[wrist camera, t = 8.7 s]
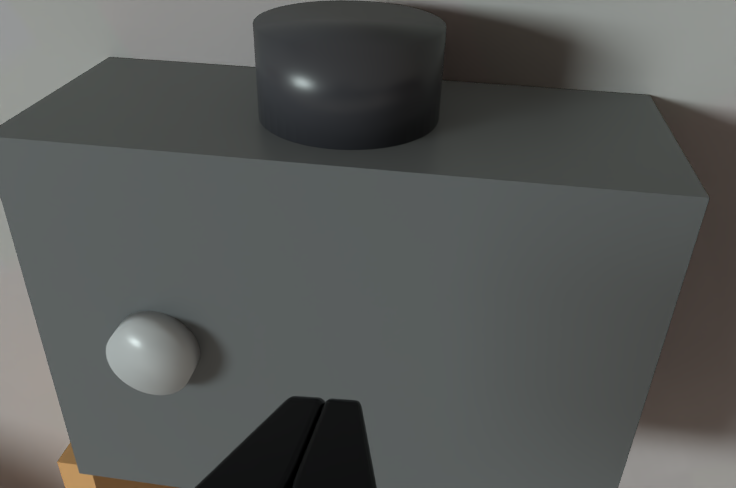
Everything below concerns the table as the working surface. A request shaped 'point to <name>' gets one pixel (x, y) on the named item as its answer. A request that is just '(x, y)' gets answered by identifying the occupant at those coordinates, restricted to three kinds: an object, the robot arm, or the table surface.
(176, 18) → the table surface
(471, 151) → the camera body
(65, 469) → the side door
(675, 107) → the table surface
